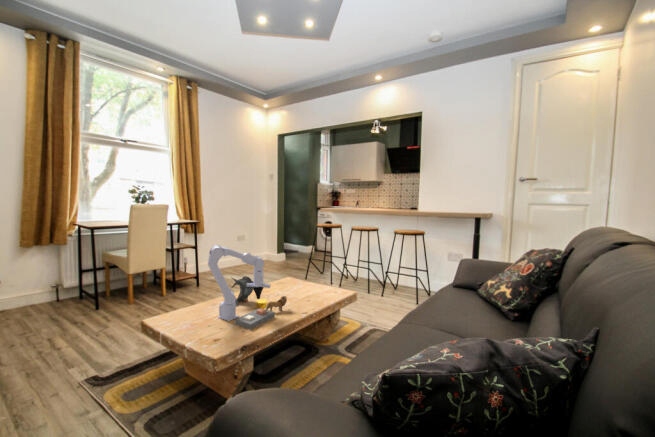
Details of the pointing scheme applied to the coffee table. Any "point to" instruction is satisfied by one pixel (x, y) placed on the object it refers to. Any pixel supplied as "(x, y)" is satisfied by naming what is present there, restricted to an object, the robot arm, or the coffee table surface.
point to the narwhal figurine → (243, 289)
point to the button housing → (256, 321)
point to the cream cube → (249, 318)
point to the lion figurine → (277, 303)
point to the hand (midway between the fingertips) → (258, 298)
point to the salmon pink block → (261, 311)
